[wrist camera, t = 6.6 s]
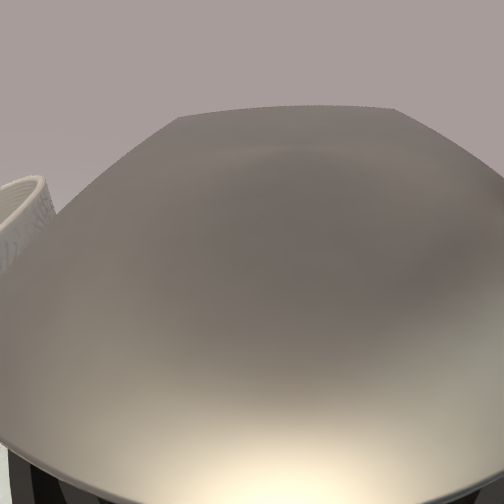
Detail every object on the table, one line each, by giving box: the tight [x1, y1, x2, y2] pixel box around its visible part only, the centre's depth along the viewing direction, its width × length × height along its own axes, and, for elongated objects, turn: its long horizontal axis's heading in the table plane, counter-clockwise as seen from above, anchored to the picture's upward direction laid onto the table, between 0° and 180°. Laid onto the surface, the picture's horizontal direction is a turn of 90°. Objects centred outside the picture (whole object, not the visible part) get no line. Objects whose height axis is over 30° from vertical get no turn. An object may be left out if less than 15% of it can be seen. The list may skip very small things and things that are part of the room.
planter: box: [0, 175, 56, 277], centre depth 17 cm, size 17×17×15 cm
